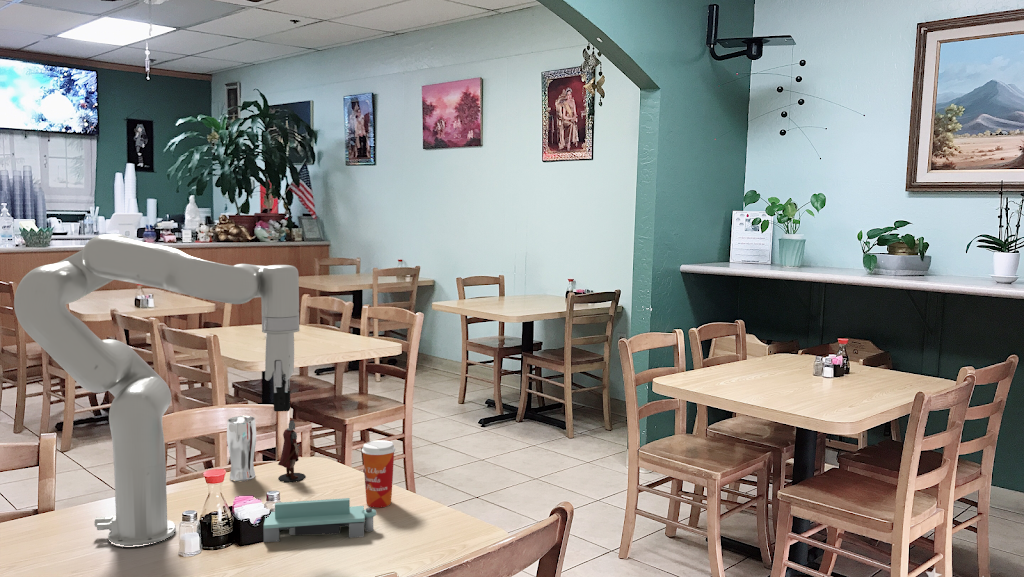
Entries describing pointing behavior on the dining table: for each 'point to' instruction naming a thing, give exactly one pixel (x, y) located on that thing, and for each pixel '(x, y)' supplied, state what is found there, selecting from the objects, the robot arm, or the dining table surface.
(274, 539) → the grey frame
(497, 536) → the dining table surface
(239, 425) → the beer glass
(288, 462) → the figurine
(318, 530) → the usb flash drive
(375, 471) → the paper cup
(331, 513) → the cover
